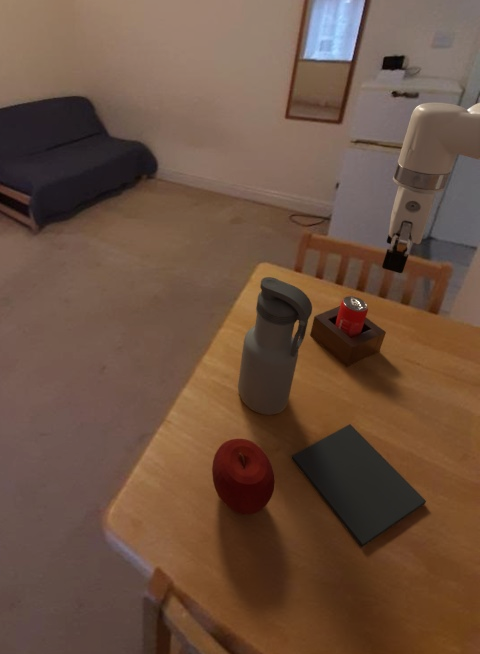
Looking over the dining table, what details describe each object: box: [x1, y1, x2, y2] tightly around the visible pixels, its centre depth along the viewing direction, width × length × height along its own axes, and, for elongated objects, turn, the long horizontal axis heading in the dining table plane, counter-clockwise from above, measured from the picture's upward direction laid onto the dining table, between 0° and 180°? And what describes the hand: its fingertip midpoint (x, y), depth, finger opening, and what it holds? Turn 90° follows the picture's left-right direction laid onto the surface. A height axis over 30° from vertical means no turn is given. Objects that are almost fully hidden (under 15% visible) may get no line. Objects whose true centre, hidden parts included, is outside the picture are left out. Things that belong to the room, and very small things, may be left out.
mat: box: [291, 423, 427, 549], centre depth 68 cm, size 14×14×1 cm
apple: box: [211, 438, 276, 516], centre depth 64 cm, size 10×10×10 cm
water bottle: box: [237, 276, 313, 416], centre depth 76 cm, size 10×10×28 cm
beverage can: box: [335, 295, 369, 338], centre depth 91 cm, size 5×5×12 cm
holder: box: [309, 305, 387, 368], centre depth 92 cm, size 10×10×6 cm
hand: (393, 256), depth 78 cm, fingers open, 9 cm apart
